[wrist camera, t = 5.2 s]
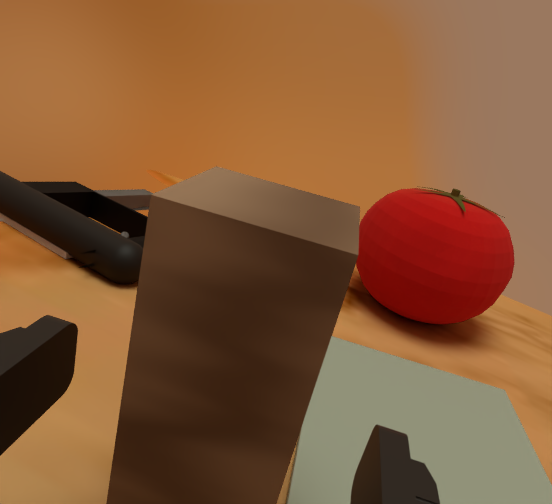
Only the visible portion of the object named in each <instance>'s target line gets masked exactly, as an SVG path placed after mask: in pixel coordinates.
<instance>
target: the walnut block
mask: <svg viewBox="0 0 552 504" xmlns="http://www.w3.org/2000/svg"><path fill="white" fill-rule="evenodd" d="M359 218H360V207H359V206H355V205H351V204H348V203H344V202H341V201H337V200H334V199H330V198H327V197H323V196H320V195H316V194H312V193H309V192H305V191H302V190H298V189H295V188H291V187H288V186H284V185H280V184H277V183H273V182H270V181H266V180H263V179H259V178H255V177H252V176H248V175H245V174H241V173H238V172H234V171H231V170H227V169H224V168H220V167H214V168H212V169H209V170H207V171H205V172H203V173H200V174H198V175H196V176H193V177H191V178H189V179H186V180H184V181H182V182H179V183H177V184H175V185H172V186H170V187H168V188H166V189H163V190H161V191H159V192H156V193H154V194H152V195H151V198H150V205H149V212H148V219H147V226H146V233H145V240H144V247H143V254H142V261H141V268H140V275H139V282H138V289H137V295H136V302H135V309H134V316H133V323H132V330H131V337H130V344H129V351H128V358H127V365H126V372H125V379H124V386H123V393H122V399H121V406H120V413H119V420H118V427H117V434H116V441H115V448H114V455H113V462H112V469H111V476H110V483H109V490H108V496H107V503H106V504H276V503H277V500H278V497H279V494H280V491H281V488H282V484H283V481H284V478H285V475H286V472H287V469H288V466H289V463H290V460H291V457H292V454H293V451H294V448H295V445H296V442H297V439H298V436H299V433H300V430H301V427H302V424H303V421H304V418H305V415H306V412H307V409H308V406H309V403H310V400H311V397H312V394H313V391H314V388H315V385H316V382H317V379H318V376H319V373H320V370H321V367H322V364H323V361H324V358H325V355H326V352H327V349H328V346H329V343H330V339H331V336H332V333H333V330H334V327H335V324H336V321H337V318H338V315H339V312H340V309H341V306H342V303H343V300H344V297H345V294H346V291H347V288H348V285H349V282H350V279H351V276H352V273H353V270H354V267H355V264H356V261H357V258H358V252H359Z"/></svg>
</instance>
